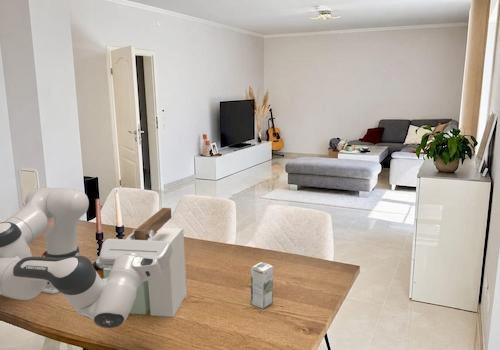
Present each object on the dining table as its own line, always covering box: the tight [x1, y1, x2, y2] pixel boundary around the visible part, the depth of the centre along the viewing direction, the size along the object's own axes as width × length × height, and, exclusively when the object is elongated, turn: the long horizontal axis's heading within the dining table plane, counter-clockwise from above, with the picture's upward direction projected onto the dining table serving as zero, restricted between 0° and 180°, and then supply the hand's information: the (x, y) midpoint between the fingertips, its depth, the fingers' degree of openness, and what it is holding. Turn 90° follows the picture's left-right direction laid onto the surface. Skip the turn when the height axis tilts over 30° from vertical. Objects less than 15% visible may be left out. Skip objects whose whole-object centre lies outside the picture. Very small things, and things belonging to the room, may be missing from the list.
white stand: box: [148, 227, 188, 318], centre depth 148 cm, size 8×16×26 cm, turn 172°
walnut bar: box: [134, 207, 172, 240], centre depth 135 cm, size 3×24×4 cm, turn 172°
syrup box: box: [250, 261, 274, 310], centre depth 149 cm, size 6×6×14 cm
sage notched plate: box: [102, 268, 150, 315], centre depth 146 cm, size 14×5×16 cm, turn 82°
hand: (144, 230), depth 127 cm, fingers closed on walnut bar, 3 cm apart
